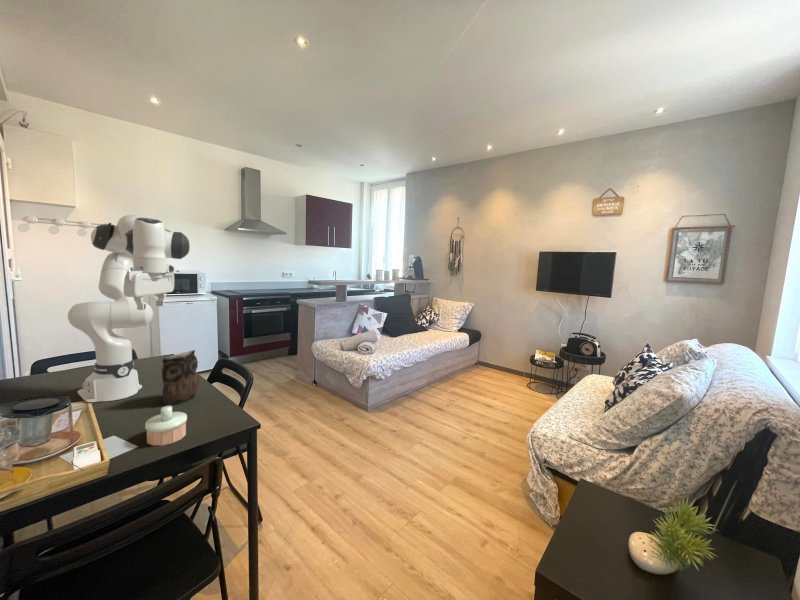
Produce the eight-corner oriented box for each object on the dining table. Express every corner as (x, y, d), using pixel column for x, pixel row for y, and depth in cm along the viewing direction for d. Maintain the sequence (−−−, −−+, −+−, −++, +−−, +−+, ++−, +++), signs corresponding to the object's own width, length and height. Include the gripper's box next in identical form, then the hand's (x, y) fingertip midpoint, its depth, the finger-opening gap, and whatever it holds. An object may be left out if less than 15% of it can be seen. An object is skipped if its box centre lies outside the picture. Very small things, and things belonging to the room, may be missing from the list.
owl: (200, 392, 140) (199, 348, 138) (193, 405, 128) (193, 356, 126) (165, 395, 135) (164, 349, 133) (155, 408, 123) (154, 358, 121)
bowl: (139, 440, 102) (139, 426, 101) (173, 426, 111) (172, 413, 111) (159, 449, 98) (159, 434, 98) (192, 434, 107) (192, 420, 107)
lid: (135, 430, 99) (135, 414, 98) (163, 413, 110) (163, 399, 109) (169, 433, 99) (169, 417, 98) (194, 416, 109) (194, 402, 109)
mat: (58, 457, 92) (58, 456, 91) (113, 436, 103) (113, 435, 103) (83, 471, 87) (83, 470, 86) (138, 447, 98) (138, 446, 98)
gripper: (138, 268, 98) (139, 312, 99) (177, 267, 118) (178, 304, 120) (116, 266, 97) (117, 311, 99) (159, 266, 117) (160, 303, 119)
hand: (151, 307), depth 109 cm, fingers open, 8 cm apart
